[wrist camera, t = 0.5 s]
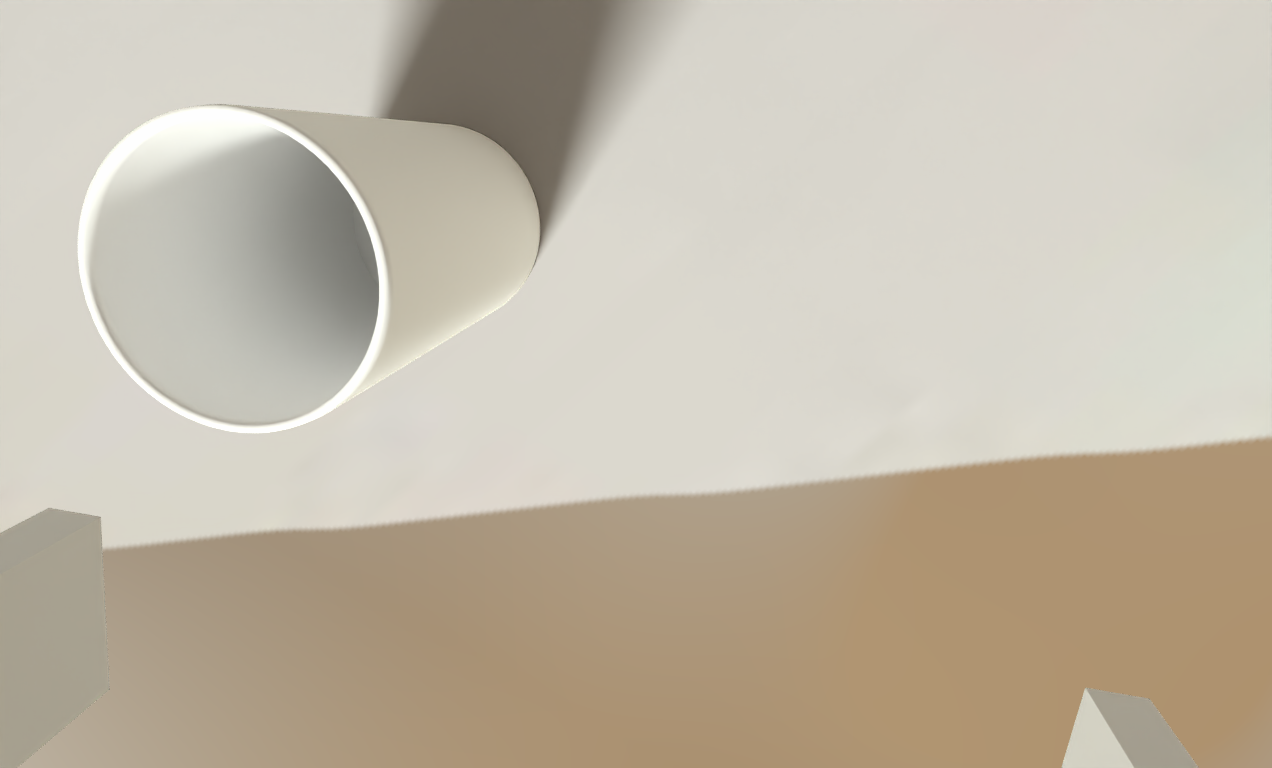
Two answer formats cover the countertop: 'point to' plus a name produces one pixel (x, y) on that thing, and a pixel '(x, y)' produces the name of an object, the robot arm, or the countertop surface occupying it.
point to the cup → (295, 254)
